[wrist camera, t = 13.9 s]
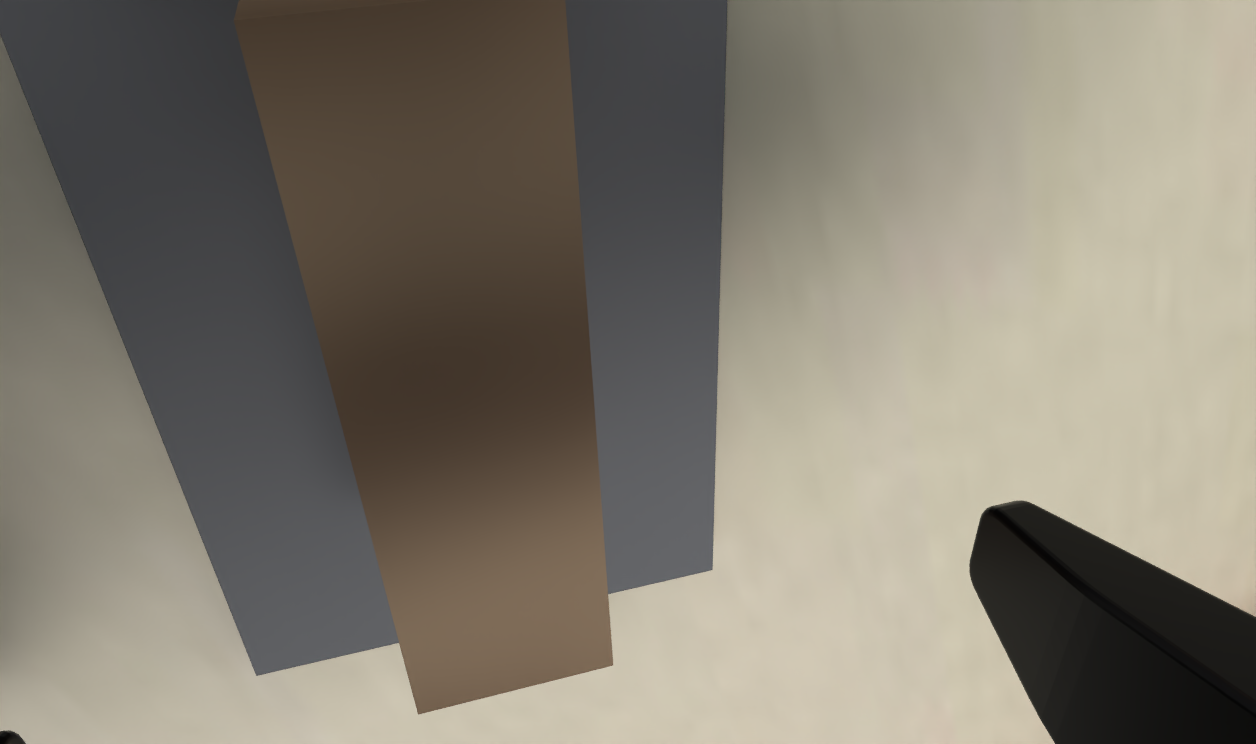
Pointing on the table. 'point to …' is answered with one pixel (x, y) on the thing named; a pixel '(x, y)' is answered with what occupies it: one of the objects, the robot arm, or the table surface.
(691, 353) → the grey rectangular plate
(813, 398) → the table surface
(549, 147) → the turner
